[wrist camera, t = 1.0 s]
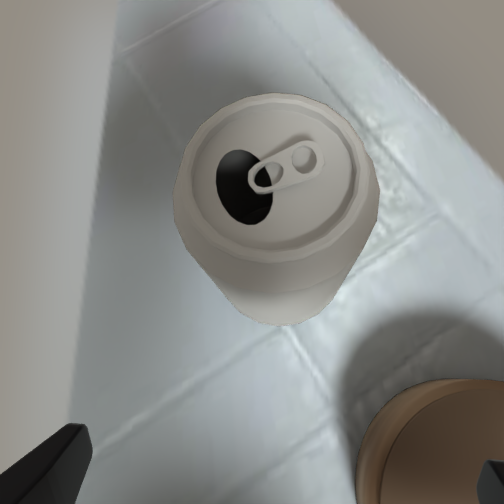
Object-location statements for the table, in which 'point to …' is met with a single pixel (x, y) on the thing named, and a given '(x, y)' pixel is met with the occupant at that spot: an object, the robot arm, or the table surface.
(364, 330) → the table surface
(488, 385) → the brown wooden disc
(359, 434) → the table surface
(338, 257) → the can
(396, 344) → the table surface
